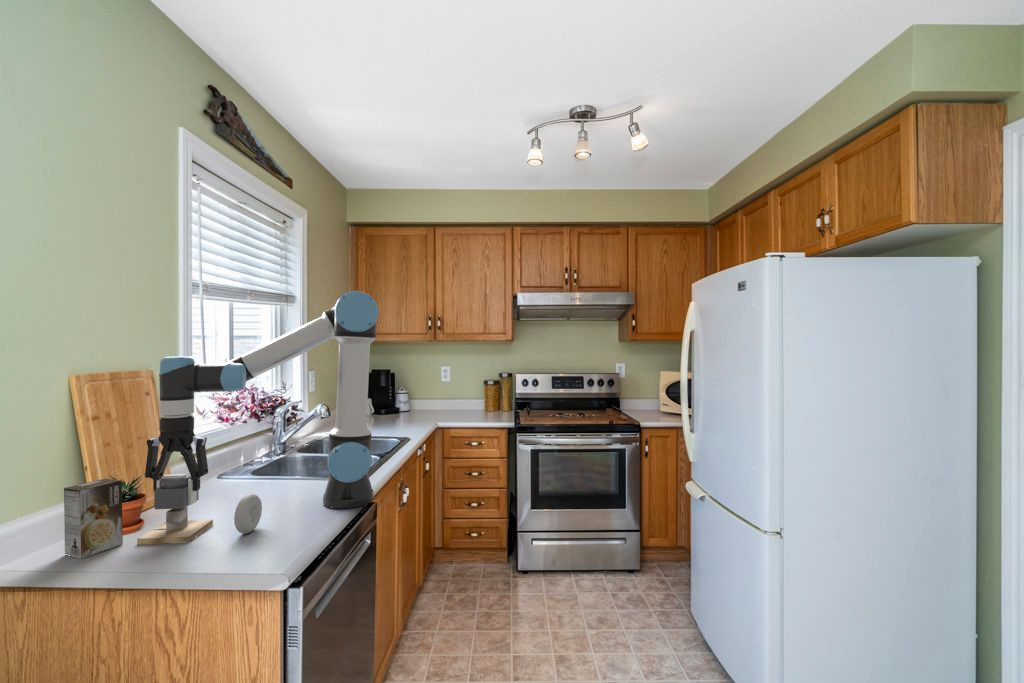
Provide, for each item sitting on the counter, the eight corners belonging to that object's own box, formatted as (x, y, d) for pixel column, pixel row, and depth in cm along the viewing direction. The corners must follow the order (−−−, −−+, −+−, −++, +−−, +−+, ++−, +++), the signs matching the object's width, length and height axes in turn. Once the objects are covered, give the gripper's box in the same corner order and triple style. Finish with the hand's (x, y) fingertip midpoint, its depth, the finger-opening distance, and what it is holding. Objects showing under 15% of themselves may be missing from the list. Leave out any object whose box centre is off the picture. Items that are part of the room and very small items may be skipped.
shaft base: (212, 525, 135) (212, 501, 135) (188, 542, 123) (188, 516, 123) (166, 526, 134) (166, 502, 134) (137, 544, 122) (137, 518, 122)
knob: (198, 499, 133) (198, 471, 133) (183, 508, 126) (183, 478, 126) (170, 500, 132) (170, 471, 132) (154, 509, 125) (154, 478, 125)
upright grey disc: (244, 540, 125) (244, 500, 125) (231, 540, 125) (231, 500, 125) (264, 525, 135) (264, 488, 135) (251, 525, 135) (251, 488, 135)
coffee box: (106, 541, 125) (106, 477, 125) (123, 544, 122) (123, 479, 122) (63, 555, 116) (63, 487, 116) (80, 559, 114) (80, 490, 114)
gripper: (224, 413, 134) (224, 498, 133) (145, 414, 132) (145, 500, 132) (209, 417, 126) (209, 507, 126) (126, 418, 124) (126, 509, 124)
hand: (176, 503), depth 129 cm, fingers closed on knob, 7 cm apart
